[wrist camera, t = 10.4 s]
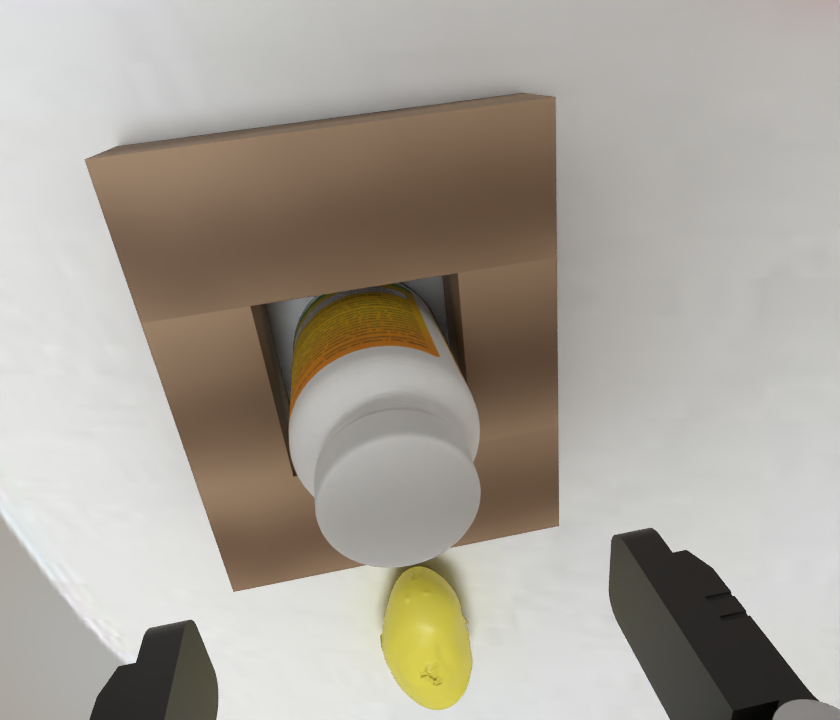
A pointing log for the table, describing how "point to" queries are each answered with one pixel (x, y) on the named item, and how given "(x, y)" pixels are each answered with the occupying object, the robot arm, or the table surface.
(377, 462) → the supplement bottle
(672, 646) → the robot arm
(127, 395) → the table surface
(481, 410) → the socket plate
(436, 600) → the yellow potato
